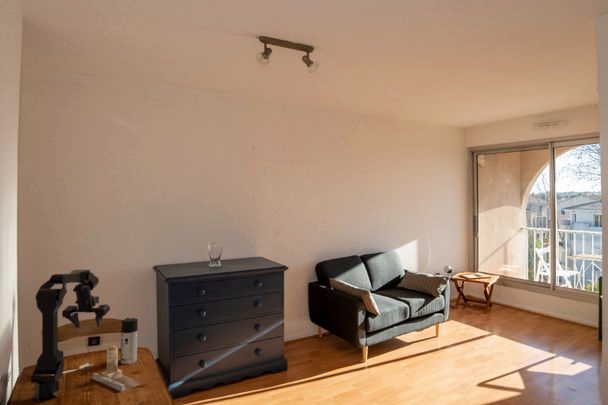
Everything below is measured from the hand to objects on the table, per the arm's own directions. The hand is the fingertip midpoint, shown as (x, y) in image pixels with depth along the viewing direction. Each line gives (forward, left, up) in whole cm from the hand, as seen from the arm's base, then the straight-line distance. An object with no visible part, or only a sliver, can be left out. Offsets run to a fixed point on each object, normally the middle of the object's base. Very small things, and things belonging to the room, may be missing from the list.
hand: (89, 327), depth 176 cm
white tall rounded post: (-5, -27, -14) cm, 31 cm away
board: (-5, -32, -16) cm, 36 cm away
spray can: (+9, -17, -16) cm, 25 cm away
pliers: (-9, -6, -17) cm, 19 cm away
